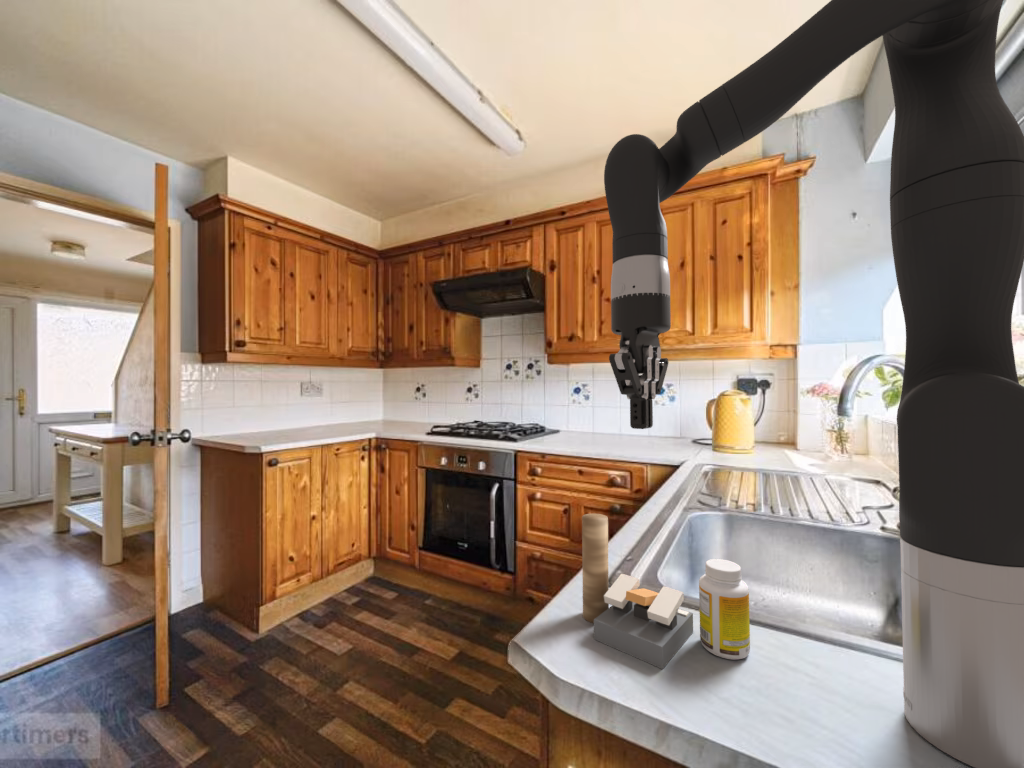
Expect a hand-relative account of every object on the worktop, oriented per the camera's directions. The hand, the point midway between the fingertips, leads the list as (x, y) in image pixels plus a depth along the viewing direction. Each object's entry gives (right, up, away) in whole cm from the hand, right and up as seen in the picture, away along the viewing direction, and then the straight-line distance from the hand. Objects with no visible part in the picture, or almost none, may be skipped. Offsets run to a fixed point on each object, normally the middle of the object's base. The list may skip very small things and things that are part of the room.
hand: (641, 427), depth 56 cm
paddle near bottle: (+2, -22, -2) cm, 23 cm away
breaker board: (0, -27, -1) cm, 27 cm away
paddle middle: (0, -23, -1) cm, 23 cm away
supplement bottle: (+9, -27, -3) cm, 29 cm away
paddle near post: (-2, -23, +1) cm, 23 cm away
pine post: (-5, -27, +4) cm, 28 cm away
